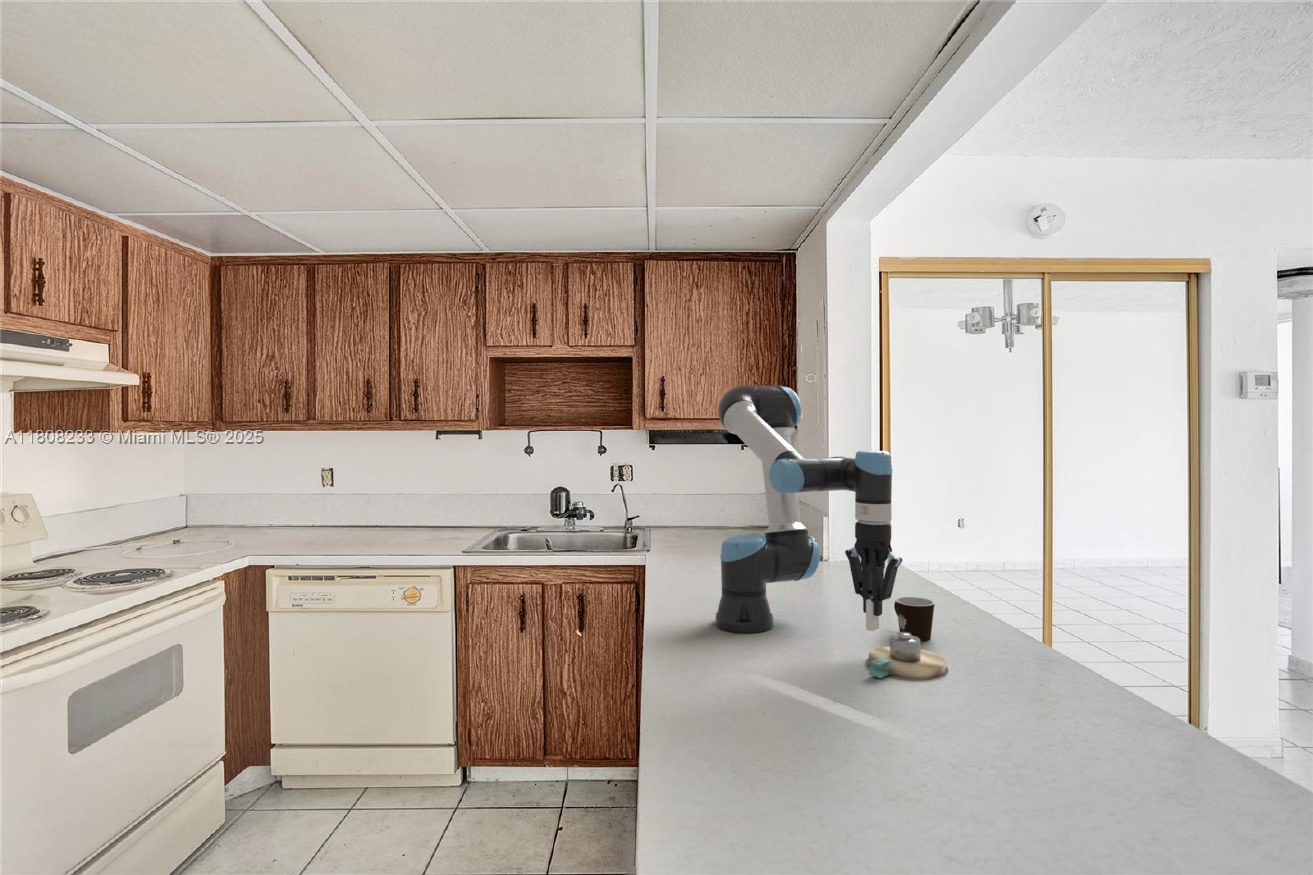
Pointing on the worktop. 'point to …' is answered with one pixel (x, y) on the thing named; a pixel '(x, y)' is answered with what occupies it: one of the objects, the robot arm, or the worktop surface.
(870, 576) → the robot arm
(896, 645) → the cover
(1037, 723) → the worktop surface
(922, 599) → the coffee mug
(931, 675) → the platter
